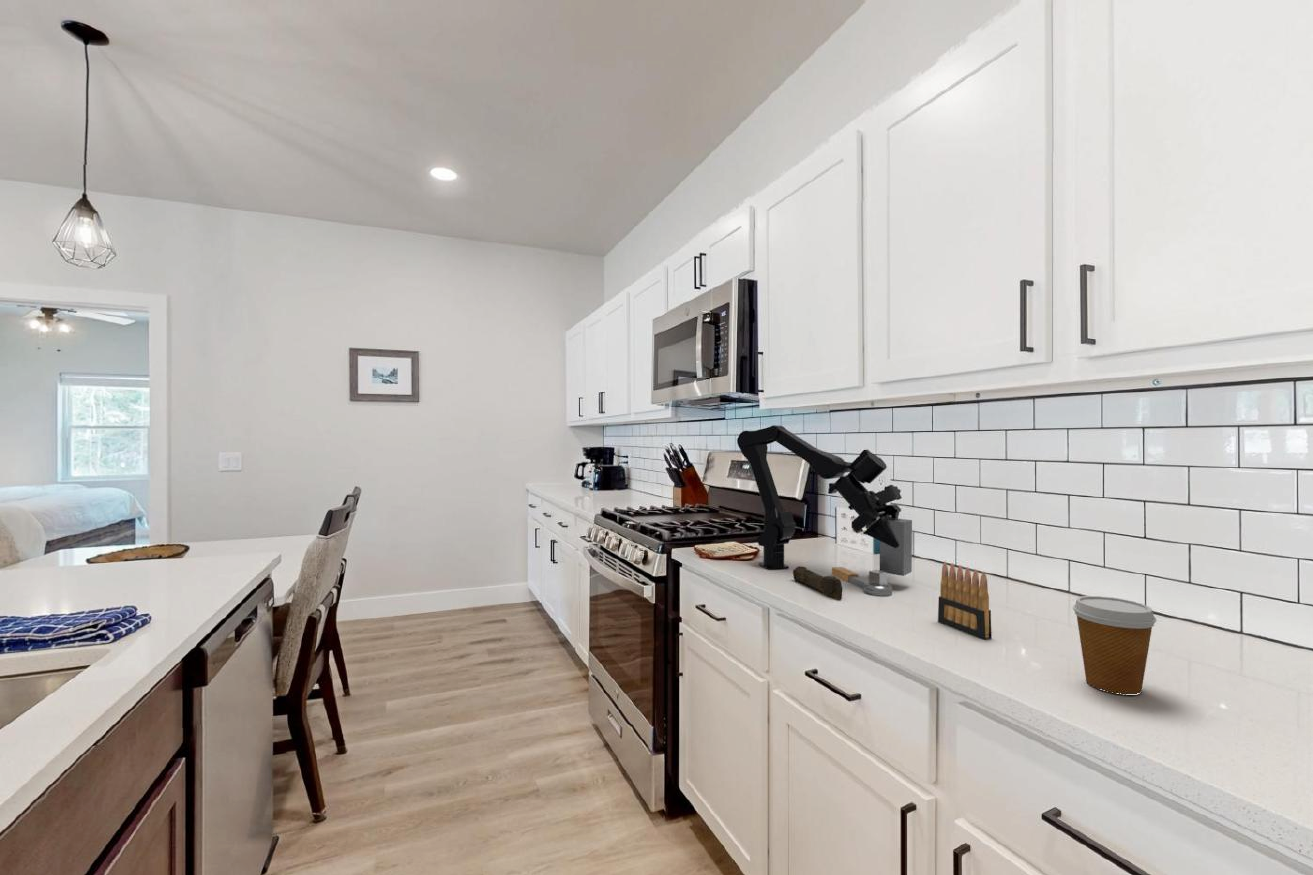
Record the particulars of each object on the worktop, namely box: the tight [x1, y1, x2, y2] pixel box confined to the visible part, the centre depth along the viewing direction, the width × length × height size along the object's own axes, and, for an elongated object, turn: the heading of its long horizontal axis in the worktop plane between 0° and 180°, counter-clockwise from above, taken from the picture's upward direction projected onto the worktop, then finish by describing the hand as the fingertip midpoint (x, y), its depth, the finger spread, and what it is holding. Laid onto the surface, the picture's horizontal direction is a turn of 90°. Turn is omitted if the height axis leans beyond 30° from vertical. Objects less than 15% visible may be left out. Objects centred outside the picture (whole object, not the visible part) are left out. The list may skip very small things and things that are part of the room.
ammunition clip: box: [937, 561, 993, 641], centre depth 108 cm, size 11×2×12 cm, turn 19°
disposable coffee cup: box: [1072, 595, 1158, 694], centre depth 84 cm, size 10×10×12 cm
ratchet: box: [831, 566, 893, 598], centre depth 142 cm, size 22×6×5 cm, turn 12°
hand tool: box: [792, 565, 843, 601], centre depth 137 cm, size 19×4×5 cm, turn 12°
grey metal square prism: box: [879, 518, 913, 577], centre depth 139 cm, size 6×6×12 cm
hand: (901, 545), depth 138 cm, fingers closed on grey metal square prism, 6 cm apart
